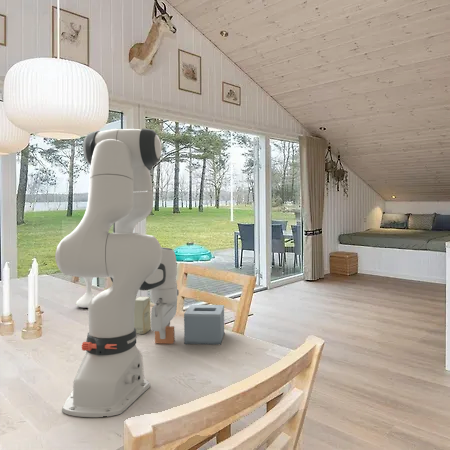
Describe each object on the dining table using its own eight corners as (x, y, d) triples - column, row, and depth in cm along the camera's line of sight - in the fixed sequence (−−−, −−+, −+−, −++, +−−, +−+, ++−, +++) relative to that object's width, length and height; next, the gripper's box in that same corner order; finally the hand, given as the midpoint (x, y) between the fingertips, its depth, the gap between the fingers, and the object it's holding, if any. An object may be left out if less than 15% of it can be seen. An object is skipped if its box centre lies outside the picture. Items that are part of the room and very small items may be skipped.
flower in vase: (81, 303, 191) (80, 250, 190) (105, 303, 190) (104, 250, 189) (70, 310, 178) (68, 253, 177) (95, 310, 177) (94, 253, 176)
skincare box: (144, 334, 144) (143, 300, 144) (132, 333, 145) (131, 300, 145) (151, 329, 151) (150, 296, 150) (139, 328, 152) (139, 296, 151)
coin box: (220, 344, 133) (220, 314, 133) (184, 343, 134) (184, 313, 134) (224, 332, 145) (224, 305, 145) (191, 332, 146) (190, 304, 146)
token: (172, 343, 134) (172, 328, 134) (155, 343, 135) (154, 328, 135) (174, 341, 137) (174, 326, 137) (157, 340, 137) (156, 326, 137)
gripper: (165, 303, 124) (166, 347, 125) (179, 289, 145) (180, 327, 145) (145, 302, 125) (146, 347, 126) (162, 288, 145) (163, 327, 146)
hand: (164, 336), depth 136 cm, fingers closed on token, 2 cm apart
